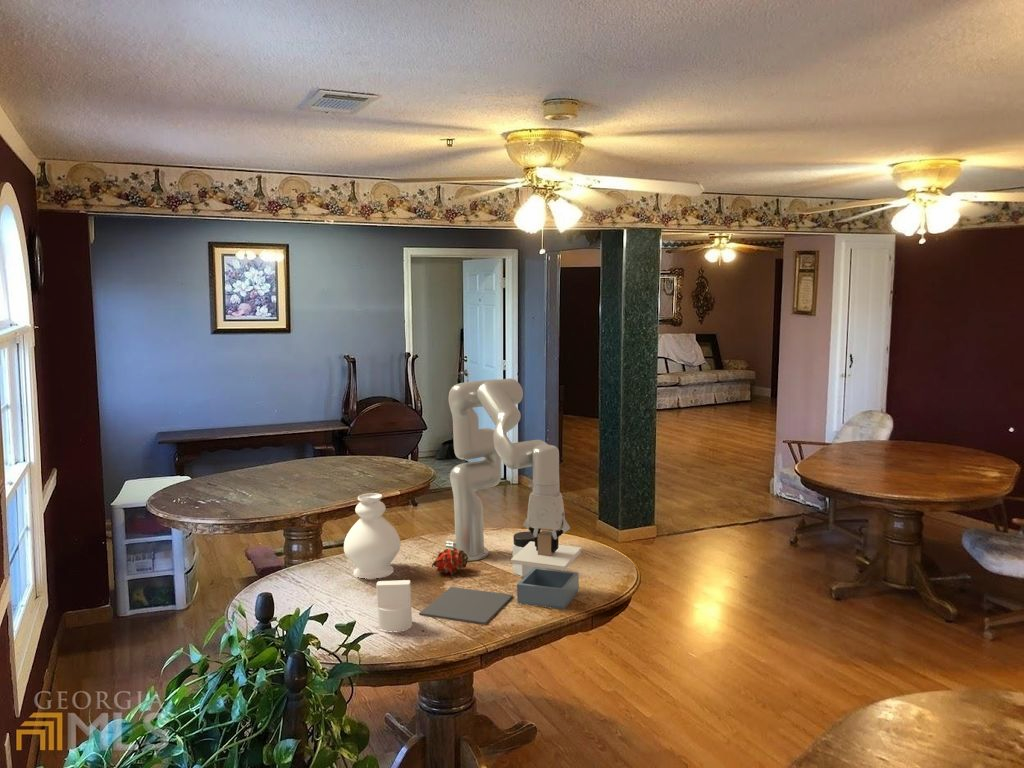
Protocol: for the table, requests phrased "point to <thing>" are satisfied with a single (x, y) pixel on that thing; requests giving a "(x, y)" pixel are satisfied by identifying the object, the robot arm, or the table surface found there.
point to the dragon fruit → (450, 561)
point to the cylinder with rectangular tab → (394, 605)
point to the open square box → (548, 588)
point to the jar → (519, 543)
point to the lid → (546, 554)
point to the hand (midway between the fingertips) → (546, 549)
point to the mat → (467, 605)
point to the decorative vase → (371, 539)
